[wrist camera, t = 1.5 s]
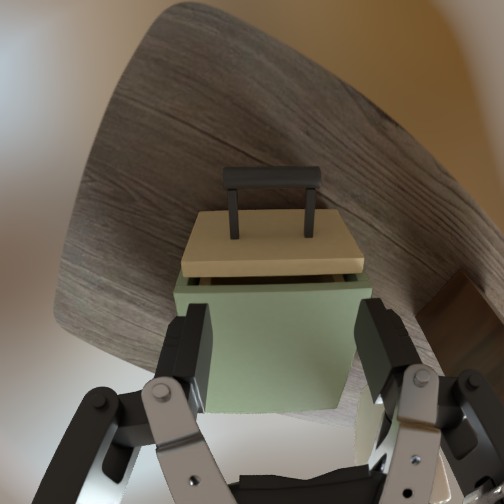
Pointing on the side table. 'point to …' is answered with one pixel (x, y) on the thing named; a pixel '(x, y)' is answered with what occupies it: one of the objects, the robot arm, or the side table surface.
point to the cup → (366, 437)
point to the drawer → (271, 236)
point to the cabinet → (278, 342)
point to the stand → (465, 332)
